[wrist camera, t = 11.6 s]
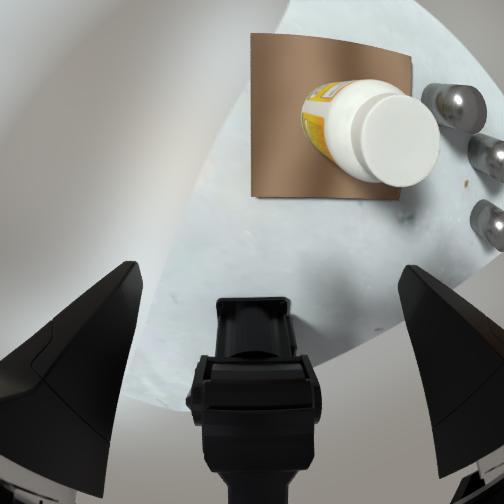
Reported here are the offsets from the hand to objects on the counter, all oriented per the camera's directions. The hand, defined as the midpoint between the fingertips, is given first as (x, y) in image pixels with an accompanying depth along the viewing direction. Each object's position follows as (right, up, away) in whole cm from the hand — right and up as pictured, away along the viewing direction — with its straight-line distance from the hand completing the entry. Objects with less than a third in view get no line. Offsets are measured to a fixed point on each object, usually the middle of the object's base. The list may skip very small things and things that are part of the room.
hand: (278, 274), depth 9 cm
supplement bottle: (+5, +10, +9) cm, 14 cm away
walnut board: (+5, +10, +10) cm, 15 cm away
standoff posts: (+20, +9, +11) cm, 24 cm away
